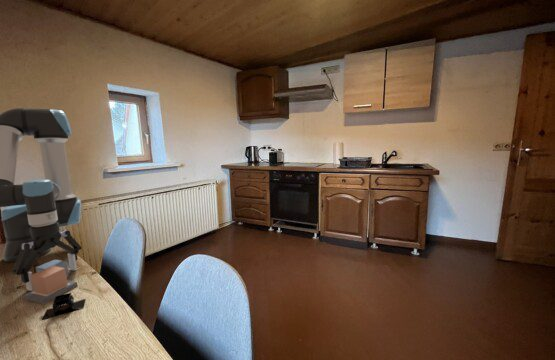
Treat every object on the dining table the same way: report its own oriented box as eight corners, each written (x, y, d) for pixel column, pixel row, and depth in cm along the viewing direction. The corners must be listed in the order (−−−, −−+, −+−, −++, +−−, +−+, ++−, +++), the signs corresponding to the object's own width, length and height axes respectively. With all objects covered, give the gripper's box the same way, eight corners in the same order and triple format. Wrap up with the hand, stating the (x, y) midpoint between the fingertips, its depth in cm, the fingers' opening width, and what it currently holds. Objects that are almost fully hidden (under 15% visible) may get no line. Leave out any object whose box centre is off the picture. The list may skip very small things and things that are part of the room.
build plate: (32, 326, 68) (29, 311, 67) (41, 311, 74) (38, 297, 73) (88, 309, 74) (86, 296, 73) (92, 297, 80) (90, 284, 79)
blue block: (57, 274, 94) (54, 259, 93) (68, 276, 92) (66, 261, 91) (38, 282, 88) (35, 267, 87) (50, 285, 86) (47, 269, 85)
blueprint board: (58, 282, 88) (58, 278, 88) (77, 285, 86) (76, 281, 85) (24, 299, 78) (23, 295, 78) (43, 303, 76) (43, 299, 76)
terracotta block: (55, 281, 85) (52, 265, 85) (67, 284, 84) (65, 268, 83) (34, 292, 80) (31, 275, 79) (47, 294, 78) (44, 277, 77)
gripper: (4, 237, 74) (17, 301, 77) (87, 214, 97) (94, 263, 101) (-12, 235, 76) (1, 298, 79) (73, 213, 99) (81, 261, 103)
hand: (53, 279), depth 90 cm, fingers open, 13 cm apart
